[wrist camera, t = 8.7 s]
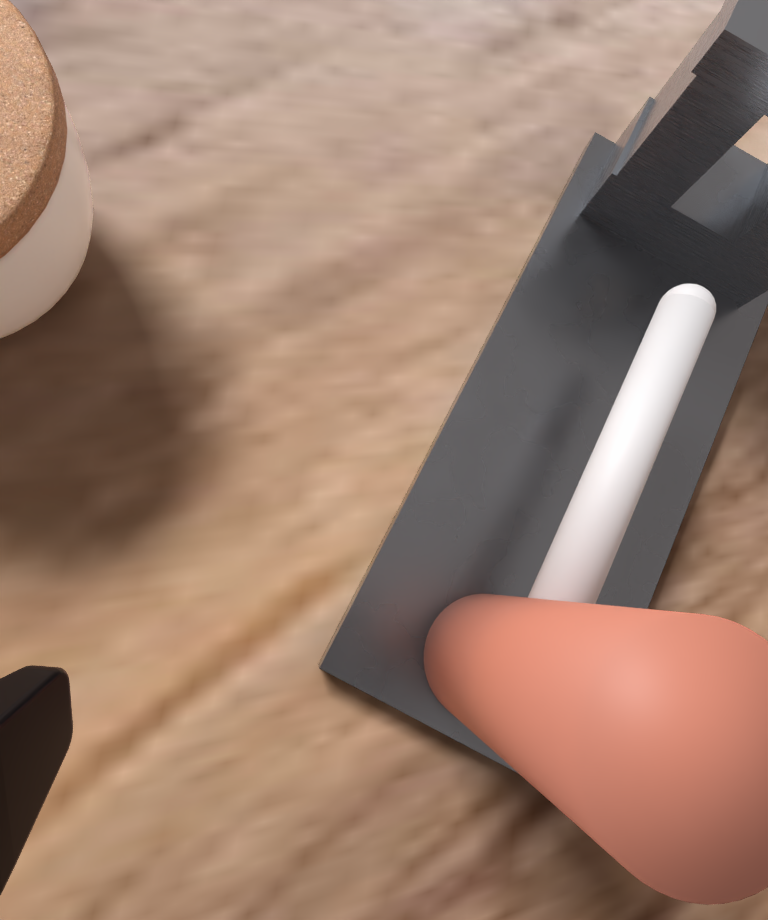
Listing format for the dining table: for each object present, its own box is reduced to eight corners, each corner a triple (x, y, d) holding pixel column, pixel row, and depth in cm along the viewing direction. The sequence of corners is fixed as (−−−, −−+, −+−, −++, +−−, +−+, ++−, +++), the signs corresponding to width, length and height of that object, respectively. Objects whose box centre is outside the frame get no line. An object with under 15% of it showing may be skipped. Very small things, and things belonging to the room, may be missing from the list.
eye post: (559, 791, 22) (761, 957, 13) (318, 664, 22) (335, 734, 12) (774, 255, 28) (1026, 86, 18) (585, 147, 28) (740, -84, 18)
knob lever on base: (513, 746, 21) (778, 954, 10) (401, 687, 21) (532, 826, 9) (676, 363, 25) (1011, 176, 13) (582, 310, 25) (837, 73, 13)
